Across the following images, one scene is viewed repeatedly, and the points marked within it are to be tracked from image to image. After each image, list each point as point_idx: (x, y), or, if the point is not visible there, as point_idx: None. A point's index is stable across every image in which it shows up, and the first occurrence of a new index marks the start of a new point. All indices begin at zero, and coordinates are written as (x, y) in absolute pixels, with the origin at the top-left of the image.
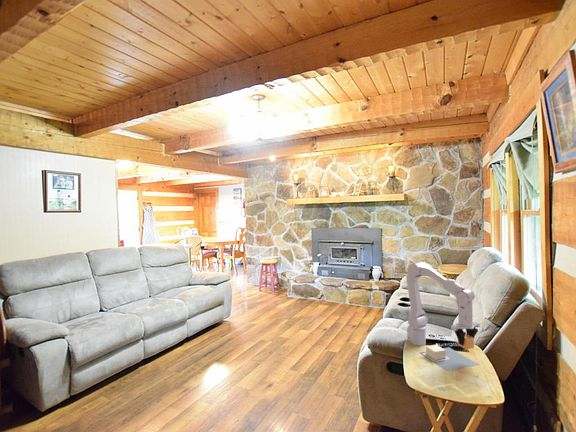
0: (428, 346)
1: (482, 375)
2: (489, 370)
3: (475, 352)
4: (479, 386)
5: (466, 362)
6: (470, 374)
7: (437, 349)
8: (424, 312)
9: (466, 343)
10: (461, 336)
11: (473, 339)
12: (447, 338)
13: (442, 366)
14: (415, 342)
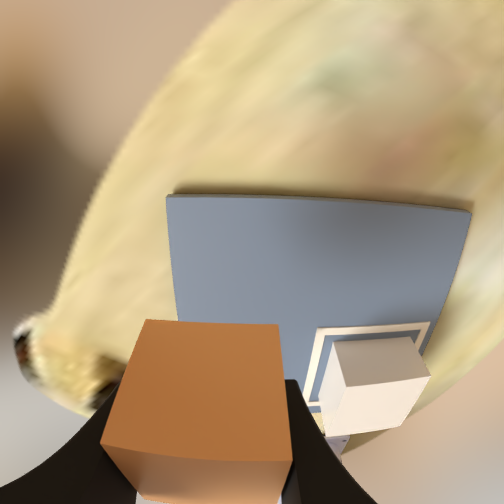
0: (390, 425)
1: (269, 74)
2: (144, 118)
3: (71, 332)
4: (416, 3)
5: (242, 256)
6: (349, 123)
7: (385, 397)
8: None
9: (273, 386)
10: (366, 496)
11: (115, 413)
12: None
13: (445, 267)
14: (340, 457)
